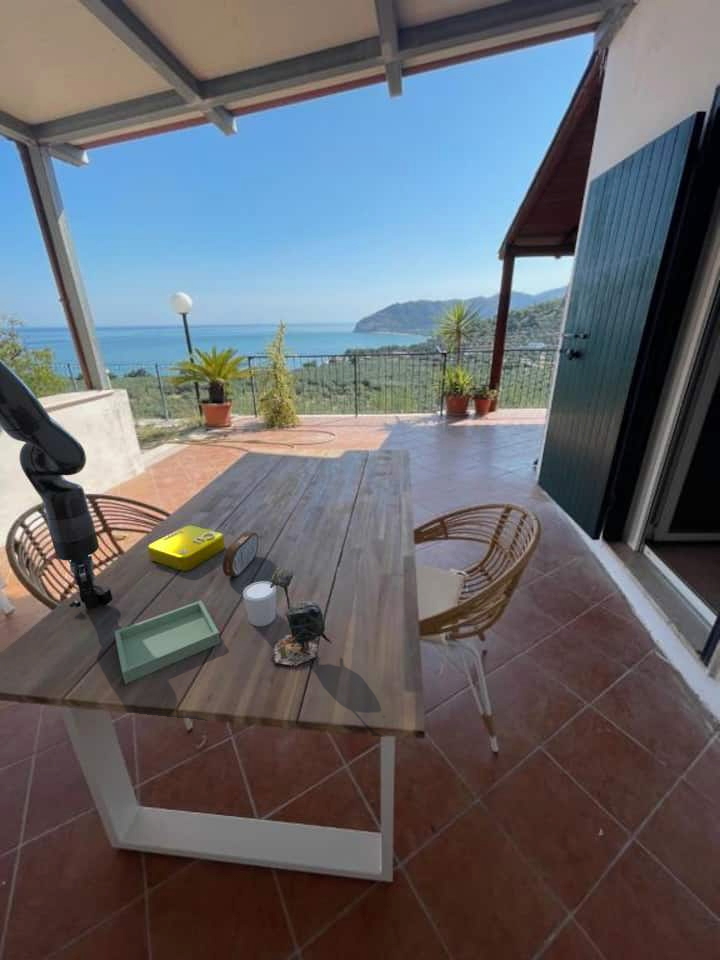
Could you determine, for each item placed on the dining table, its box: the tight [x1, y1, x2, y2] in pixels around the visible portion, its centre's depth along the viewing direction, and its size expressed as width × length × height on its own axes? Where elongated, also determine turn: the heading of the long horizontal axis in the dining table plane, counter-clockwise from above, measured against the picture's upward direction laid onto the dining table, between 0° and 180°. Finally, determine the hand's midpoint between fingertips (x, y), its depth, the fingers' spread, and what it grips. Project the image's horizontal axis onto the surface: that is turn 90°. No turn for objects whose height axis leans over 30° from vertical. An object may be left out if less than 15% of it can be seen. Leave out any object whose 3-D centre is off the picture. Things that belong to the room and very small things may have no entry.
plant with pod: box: [270, 566, 332, 667], centre depth 71 cm, size 8×11×20 cm
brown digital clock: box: [222, 530, 259, 577], centre depth 102 cm, size 15×3×8 cm, turn 168°
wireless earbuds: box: [69, 584, 113, 608], centre depth 86 cm, size 5×7×3 cm, turn 78°
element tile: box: [147, 524, 226, 572], centre depth 109 cm, size 15×15×5 cm
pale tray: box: [114, 600, 221, 685], centre depth 77 cm, size 17×13×3 cm
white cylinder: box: [242, 580, 277, 627], centre depth 83 cm, size 7×7×7 cm
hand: (91, 600), depth 87 cm, fingers closed on wireless earbuds, 5 cm apart
